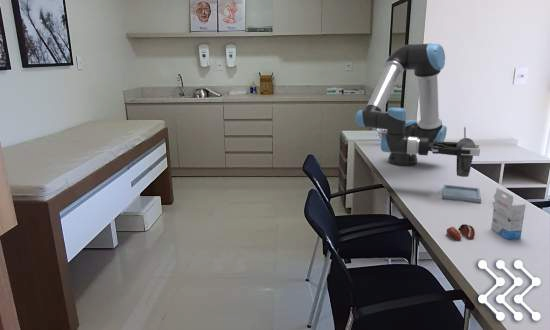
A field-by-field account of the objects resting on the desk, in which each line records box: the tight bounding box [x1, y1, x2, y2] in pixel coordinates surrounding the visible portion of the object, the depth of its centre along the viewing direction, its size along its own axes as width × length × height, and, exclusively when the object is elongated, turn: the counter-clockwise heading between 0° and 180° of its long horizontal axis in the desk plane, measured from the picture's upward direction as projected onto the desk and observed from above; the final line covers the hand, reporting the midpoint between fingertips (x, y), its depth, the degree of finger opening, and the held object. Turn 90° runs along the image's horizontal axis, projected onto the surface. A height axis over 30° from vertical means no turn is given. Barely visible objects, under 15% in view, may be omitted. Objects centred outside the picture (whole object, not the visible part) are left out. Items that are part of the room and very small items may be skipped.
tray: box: [442, 184, 482, 204], centre depth 163 cm, size 14×14×2 cm
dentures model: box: [446, 223, 476, 242], centre depth 126 cm, size 6×4×8 cm
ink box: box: [490, 187, 527, 240], centre depth 126 cm, size 9×5×15 cm, turn 5°
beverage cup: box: [456, 126, 476, 178], centre depth 158 cm, size 7×7×20 cm
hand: (479, 150), depth 156 cm, fingers closed on beverage cup, 7 cm apart
